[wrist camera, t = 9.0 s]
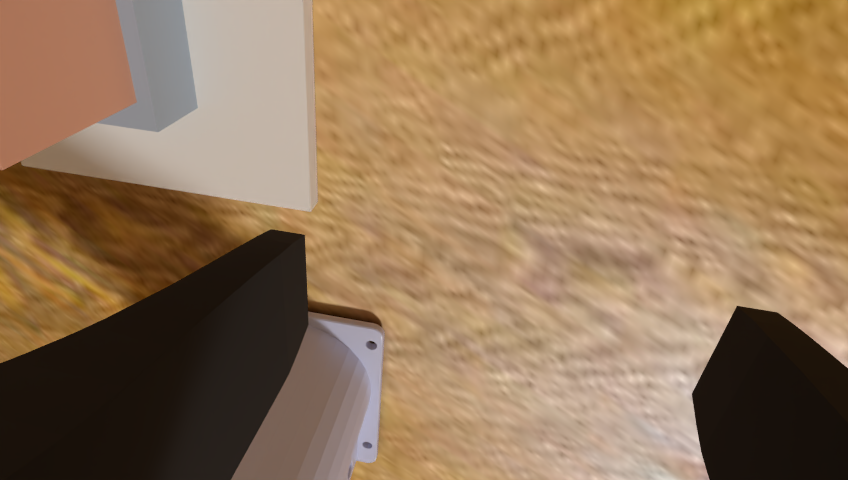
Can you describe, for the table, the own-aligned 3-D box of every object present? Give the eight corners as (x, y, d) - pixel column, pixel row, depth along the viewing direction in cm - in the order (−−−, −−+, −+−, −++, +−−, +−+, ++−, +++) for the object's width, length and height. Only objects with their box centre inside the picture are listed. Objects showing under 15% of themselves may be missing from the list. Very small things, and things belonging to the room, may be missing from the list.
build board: (317, 202, 21) (310, 212, 20) (37, 157, 22) (22, 165, 22) (307, -141, 15) (298, -143, 14) (-74, -177, 16) (-100, -181, 16)
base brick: (198, 108, 19) (158, 132, 17) (41, 85, 19) (-15, 106, 17) (168, -93, 16) (114, -92, 14) (-19, -113, 16) (-96, -114, 14)
